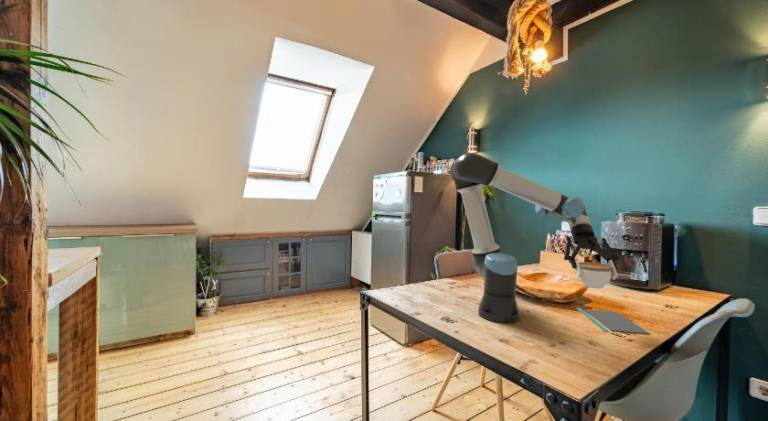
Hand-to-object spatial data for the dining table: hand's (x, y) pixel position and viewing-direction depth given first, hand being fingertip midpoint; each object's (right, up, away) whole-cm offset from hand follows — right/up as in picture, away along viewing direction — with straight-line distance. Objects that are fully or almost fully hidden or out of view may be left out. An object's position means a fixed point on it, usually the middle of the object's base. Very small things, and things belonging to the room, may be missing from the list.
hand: (597, 276), depth 115 cm
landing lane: (+10, -19, +9) cm, 23 cm away
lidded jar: (0, -4, +3) cm, 5 cm away
